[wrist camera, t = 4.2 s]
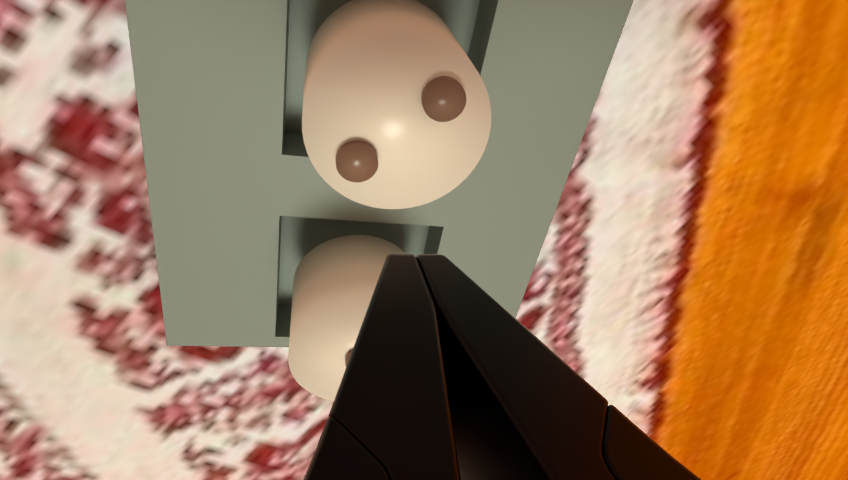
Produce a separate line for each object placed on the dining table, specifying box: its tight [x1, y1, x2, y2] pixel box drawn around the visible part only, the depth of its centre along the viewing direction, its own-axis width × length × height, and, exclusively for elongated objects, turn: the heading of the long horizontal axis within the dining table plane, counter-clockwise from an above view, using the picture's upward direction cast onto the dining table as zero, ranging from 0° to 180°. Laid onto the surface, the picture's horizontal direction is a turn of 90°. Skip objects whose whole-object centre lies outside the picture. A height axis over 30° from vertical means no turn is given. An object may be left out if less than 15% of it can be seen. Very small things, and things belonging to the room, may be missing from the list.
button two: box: [302, 0, 491, 209], centre depth 13 cm, size 4×4×3 cm
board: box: [125, 0, 633, 347], centre depth 15 cm, size 12×20×2 cm, turn 170°
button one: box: [288, 235, 405, 401], centre depth 17 cm, size 4×4×3 cm
